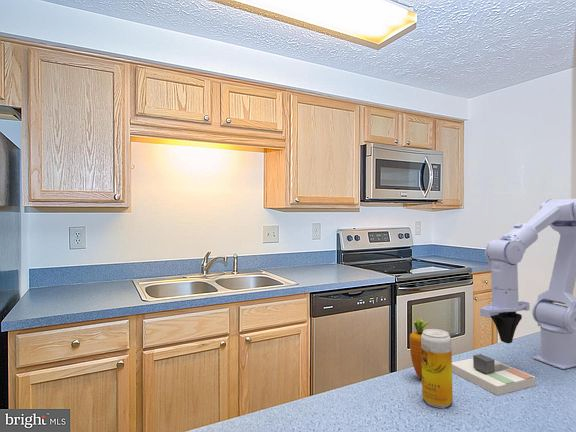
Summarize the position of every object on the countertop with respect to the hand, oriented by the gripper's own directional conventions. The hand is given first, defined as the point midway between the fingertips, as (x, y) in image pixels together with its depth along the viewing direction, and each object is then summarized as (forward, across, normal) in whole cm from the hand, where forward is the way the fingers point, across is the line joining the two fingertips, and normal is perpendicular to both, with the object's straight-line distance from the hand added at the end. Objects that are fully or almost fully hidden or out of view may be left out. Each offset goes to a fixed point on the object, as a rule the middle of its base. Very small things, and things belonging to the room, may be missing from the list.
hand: (506, 341), depth 92 cm
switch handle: (+8, +8, 0) cm, 11 cm away
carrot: (+8, +22, -6) cm, 24 cm away
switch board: (+8, +6, 0) cm, 10 cm away
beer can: (+8, +26, +4) cm, 27 cm away
